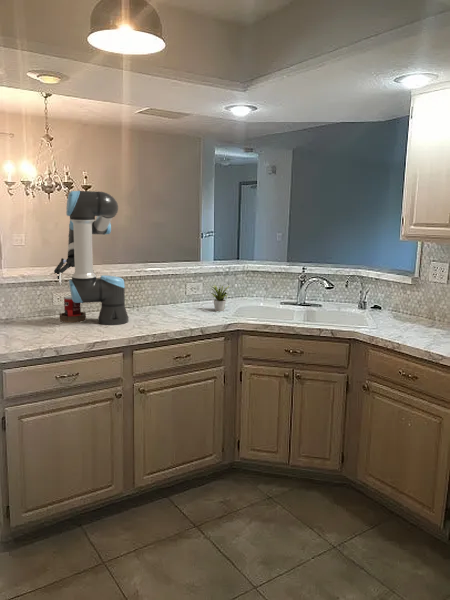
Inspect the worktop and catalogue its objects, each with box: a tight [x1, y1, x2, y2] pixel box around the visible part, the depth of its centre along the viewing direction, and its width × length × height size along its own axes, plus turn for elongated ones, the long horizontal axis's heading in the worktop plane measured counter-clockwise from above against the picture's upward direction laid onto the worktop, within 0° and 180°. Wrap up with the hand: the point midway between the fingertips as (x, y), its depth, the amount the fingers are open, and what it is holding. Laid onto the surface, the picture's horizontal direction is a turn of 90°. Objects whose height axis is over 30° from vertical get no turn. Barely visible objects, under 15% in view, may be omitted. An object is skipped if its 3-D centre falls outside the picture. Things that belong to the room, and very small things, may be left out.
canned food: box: [63, 295, 82, 317], centre depth 258 cm, size 8×8×11 cm
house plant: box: [210, 284, 230, 312], centre depth 287 cm, size 14×14×16 cm
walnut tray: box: [59, 311, 87, 324], centre depth 259 cm, size 13×13×3 cm
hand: (73, 283), depth 266 cm, fingers open, 13 cm apart
